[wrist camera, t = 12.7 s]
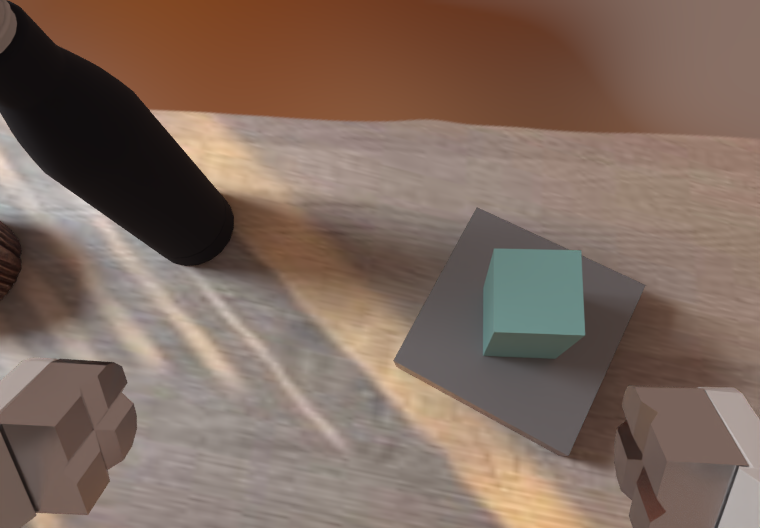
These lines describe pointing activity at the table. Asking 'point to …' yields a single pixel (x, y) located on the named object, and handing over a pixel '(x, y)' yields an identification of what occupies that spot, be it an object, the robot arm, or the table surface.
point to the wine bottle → (106, 145)
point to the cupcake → (8, 259)
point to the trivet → (515, 374)
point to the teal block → (533, 303)
